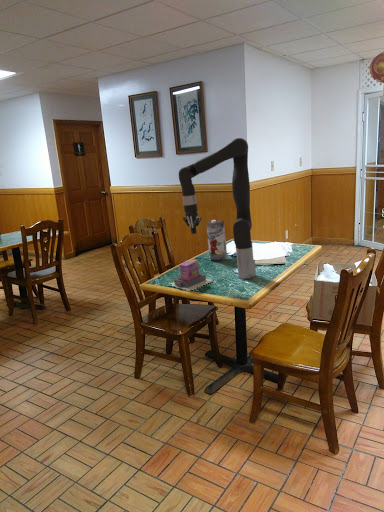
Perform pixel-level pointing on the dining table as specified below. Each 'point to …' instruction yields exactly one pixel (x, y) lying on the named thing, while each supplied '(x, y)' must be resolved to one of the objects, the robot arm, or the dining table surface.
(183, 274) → the box
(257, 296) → the dining table surface
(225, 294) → the dining table surface
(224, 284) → the dining table surface
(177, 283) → the board
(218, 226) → the juice carton
